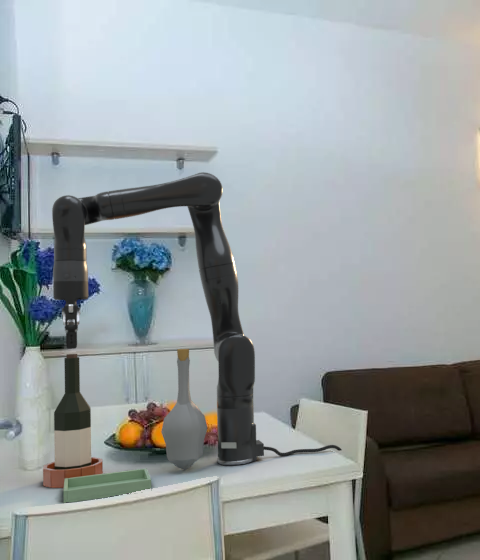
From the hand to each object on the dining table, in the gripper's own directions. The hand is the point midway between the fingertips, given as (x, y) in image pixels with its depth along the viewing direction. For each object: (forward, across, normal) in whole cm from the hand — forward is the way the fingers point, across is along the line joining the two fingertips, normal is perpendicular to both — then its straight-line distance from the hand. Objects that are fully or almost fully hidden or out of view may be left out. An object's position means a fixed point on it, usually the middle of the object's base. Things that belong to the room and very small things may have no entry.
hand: (71, 347), depth 162 cm
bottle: (+32, -4, -25) cm, 41 cm away
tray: (+32, -14, -7) cm, 35 cm away
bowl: (+32, 0, 0) cm, 32 cm away
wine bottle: (+32, 0, 0) cm, 32 cm away
